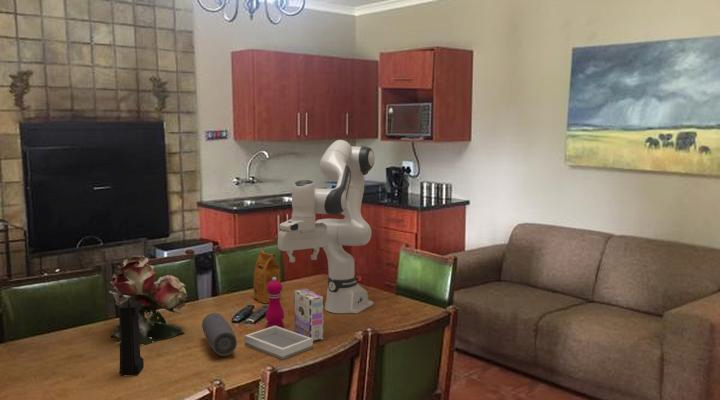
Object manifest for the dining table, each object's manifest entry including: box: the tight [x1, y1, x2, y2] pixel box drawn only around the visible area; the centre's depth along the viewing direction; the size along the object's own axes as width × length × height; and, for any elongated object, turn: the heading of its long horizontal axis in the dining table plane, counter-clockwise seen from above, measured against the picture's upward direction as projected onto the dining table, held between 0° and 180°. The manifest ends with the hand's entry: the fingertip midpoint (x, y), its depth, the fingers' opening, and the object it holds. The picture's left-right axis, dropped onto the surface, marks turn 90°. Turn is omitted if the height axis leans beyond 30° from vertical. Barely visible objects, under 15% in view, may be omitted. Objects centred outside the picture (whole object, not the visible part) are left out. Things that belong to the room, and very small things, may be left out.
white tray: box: [244, 326, 314, 361], centre depth 220 cm, size 14×20×4 cm
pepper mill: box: [265, 277, 285, 328], centre depth 240 cm, size 7×7×20 cm
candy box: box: [293, 288, 324, 342], centre depth 230 cm, size 14×6×16 cm, turn 31°
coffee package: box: [253, 249, 281, 304], centre depth 275 cm, size 10×12×22 cm
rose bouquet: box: [108, 254, 188, 346], centre depth 232 cm, size 26×29×30 cm
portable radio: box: [118, 299, 145, 377], centre depth 197 cm, size 8×6×25 cm
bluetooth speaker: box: [201, 312, 238, 357], centre depth 218 cm, size 23×9×10 cm, turn 23°
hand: (303, 260), depth 229 cm, fingers open, 8 cm apart
